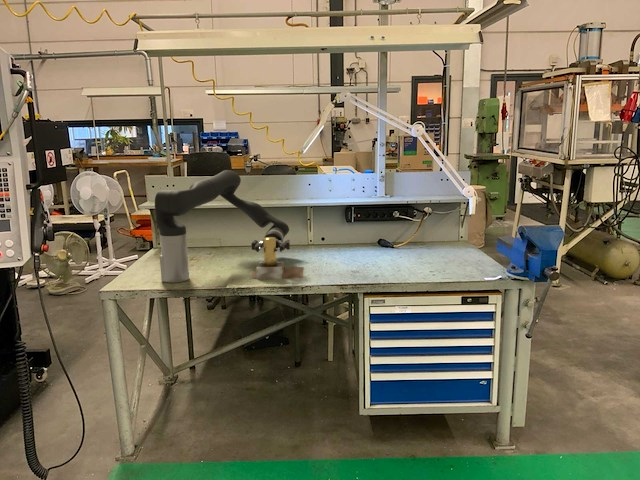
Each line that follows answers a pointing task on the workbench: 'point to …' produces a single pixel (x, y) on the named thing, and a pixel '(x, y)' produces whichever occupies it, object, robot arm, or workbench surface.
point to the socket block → (277, 272)
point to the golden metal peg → (269, 252)
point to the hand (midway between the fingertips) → (269, 249)
